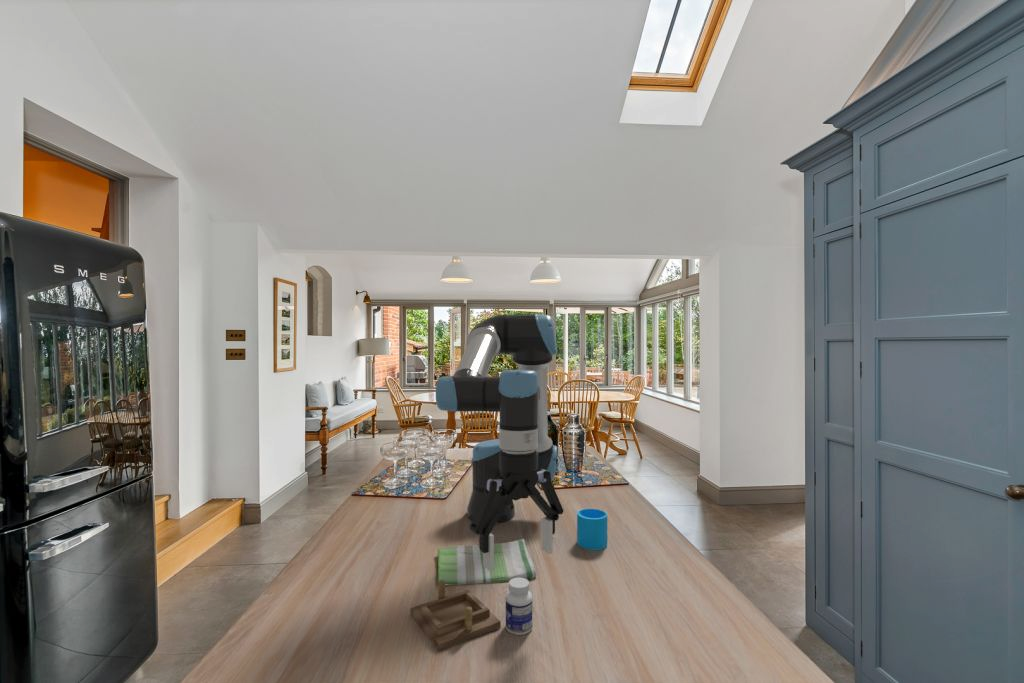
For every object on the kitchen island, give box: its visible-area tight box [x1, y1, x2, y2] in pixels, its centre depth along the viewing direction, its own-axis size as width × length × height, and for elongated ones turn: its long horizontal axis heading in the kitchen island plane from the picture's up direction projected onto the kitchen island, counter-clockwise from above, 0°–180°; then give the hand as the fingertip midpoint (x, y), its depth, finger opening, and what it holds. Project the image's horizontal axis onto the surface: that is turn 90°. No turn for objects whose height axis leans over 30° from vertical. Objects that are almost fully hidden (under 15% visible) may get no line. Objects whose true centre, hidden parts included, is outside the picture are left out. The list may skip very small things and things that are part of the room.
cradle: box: [409, 580, 502, 652], centre depth 97 cm, size 14×13×5 cm
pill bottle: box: [505, 578, 534, 636], centre depth 95 cm, size 5×5×9 cm
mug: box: [576, 508, 608, 551], centre depth 135 cm, size 12×8×8 cm
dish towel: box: [436, 538, 537, 585], centre depth 120 cm, size 17×23×4 cm
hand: (518, 559), depth 94 cm, fingers open, 13 cm apart
